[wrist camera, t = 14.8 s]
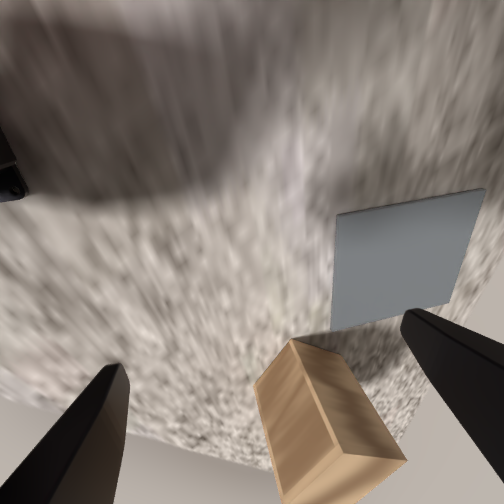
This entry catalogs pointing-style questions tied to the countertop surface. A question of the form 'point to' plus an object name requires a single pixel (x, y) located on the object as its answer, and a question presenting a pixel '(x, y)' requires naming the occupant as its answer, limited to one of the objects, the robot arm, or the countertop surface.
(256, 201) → the countertop surface
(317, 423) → the cover box
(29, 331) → the countertop surface
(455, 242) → the slate mat
